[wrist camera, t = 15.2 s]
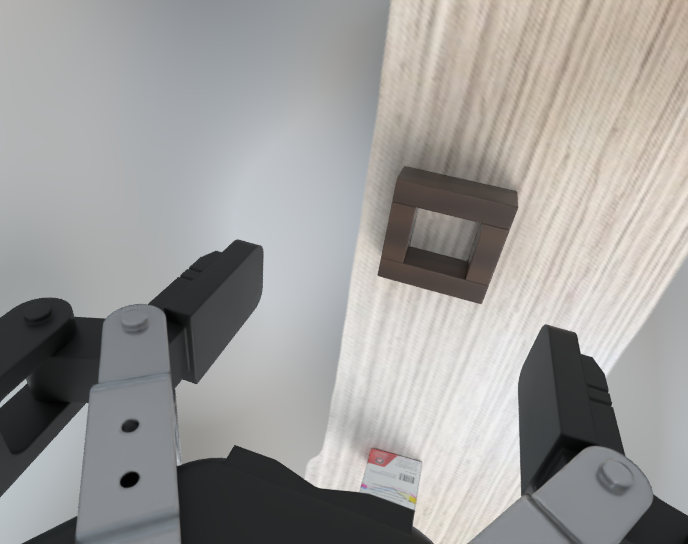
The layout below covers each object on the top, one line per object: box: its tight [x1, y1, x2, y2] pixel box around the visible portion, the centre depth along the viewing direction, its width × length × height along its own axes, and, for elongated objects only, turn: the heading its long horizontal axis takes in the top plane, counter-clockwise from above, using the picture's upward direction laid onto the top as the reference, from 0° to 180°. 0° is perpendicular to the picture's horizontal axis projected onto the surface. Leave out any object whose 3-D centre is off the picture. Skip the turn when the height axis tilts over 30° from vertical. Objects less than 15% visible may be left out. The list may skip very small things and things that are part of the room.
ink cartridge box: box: [359, 449, 422, 526], centre depth 68 cm, size 9×5×15 cm, turn 87°
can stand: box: [378, 166, 518, 304], centre depth 49 cm, size 12×12×4 cm
